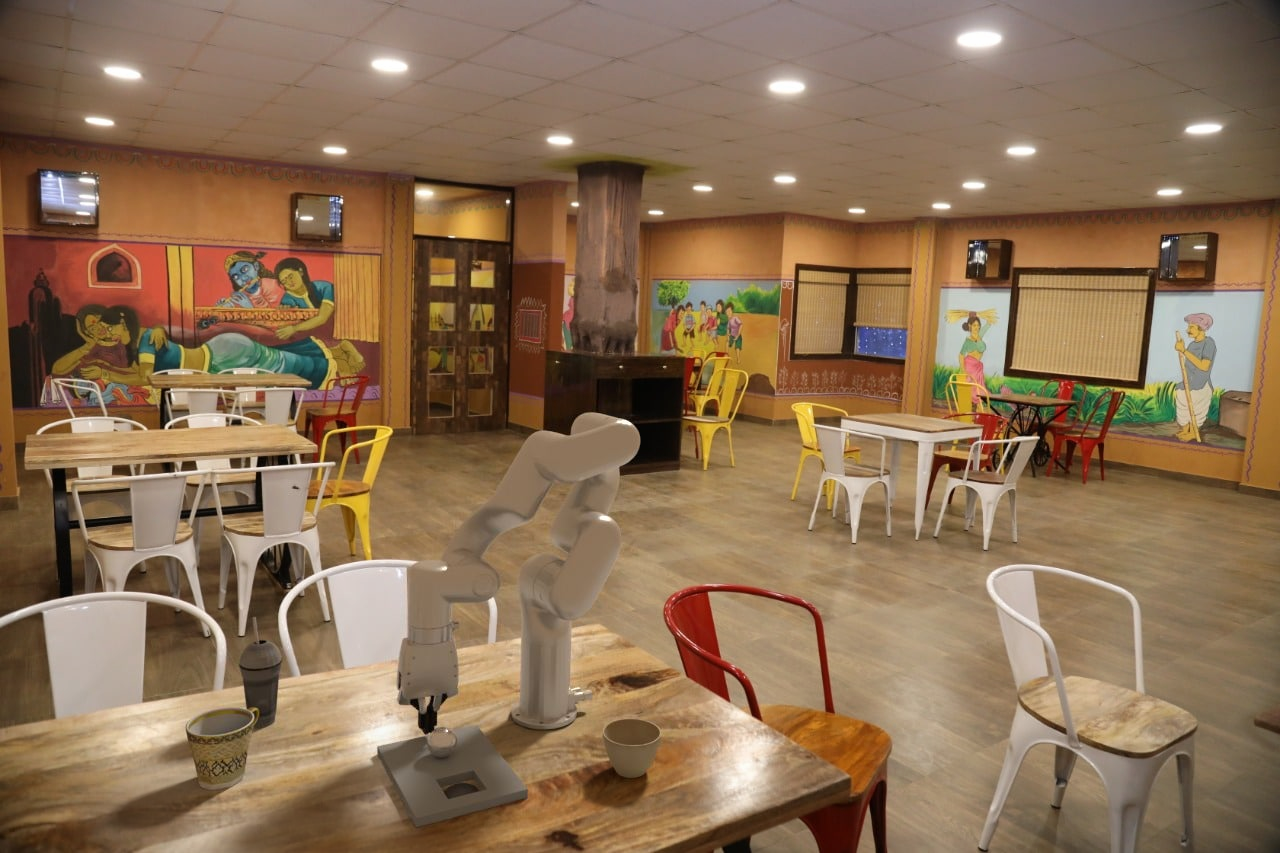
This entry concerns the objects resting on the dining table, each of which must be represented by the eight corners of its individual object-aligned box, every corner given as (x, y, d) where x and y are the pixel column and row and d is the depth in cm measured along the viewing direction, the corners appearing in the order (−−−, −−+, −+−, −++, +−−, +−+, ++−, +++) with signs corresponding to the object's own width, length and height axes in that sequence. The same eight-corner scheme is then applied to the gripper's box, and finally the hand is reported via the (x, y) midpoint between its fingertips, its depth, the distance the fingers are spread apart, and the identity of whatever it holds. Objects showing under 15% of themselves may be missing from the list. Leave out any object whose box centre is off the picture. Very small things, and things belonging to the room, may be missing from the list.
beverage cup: (267, 733, 156) (265, 627, 154) (231, 728, 158) (228, 622, 155) (291, 715, 163) (289, 613, 161) (256, 710, 165) (254, 609, 162)
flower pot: (666, 762, 152) (668, 723, 151) (648, 791, 142) (650, 750, 141) (613, 751, 155) (615, 713, 154) (592, 778, 146) (593, 738, 145)
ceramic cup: (221, 801, 135) (219, 741, 133) (172, 787, 138) (170, 728, 137) (282, 762, 147) (281, 706, 146) (236, 750, 150) (235, 695, 149)
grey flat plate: (476, 732, 160) (476, 724, 159) (527, 797, 139) (527, 789, 139) (377, 754, 151) (377, 746, 150) (416, 827, 130) (416, 818, 130)
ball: (451, 746, 152) (452, 719, 151) (461, 759, 147) (461, 731, 147) (423, 752, 149) (423, 724, 148) (432, 766, 145) (432, 737, 144)
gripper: (463, 619, 159) (461, 714, 161) (380, 630, 151) (379, 730, 154) (477, 633, 152) (474, 731, 155) (392, 645, 145) (390, 749, 147)
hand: (427, 730), depth 154 cm, fingers closed
